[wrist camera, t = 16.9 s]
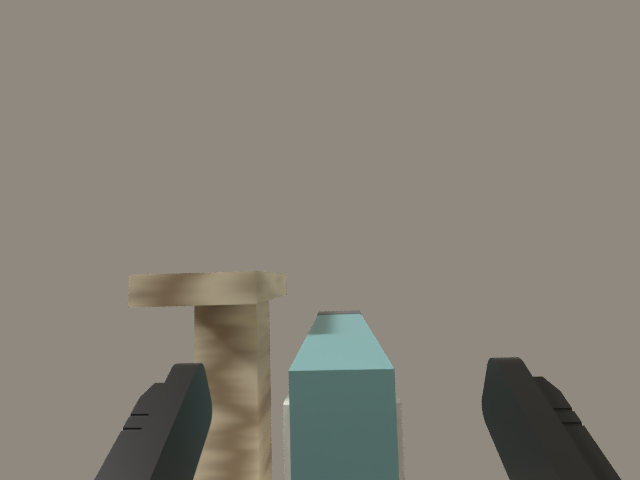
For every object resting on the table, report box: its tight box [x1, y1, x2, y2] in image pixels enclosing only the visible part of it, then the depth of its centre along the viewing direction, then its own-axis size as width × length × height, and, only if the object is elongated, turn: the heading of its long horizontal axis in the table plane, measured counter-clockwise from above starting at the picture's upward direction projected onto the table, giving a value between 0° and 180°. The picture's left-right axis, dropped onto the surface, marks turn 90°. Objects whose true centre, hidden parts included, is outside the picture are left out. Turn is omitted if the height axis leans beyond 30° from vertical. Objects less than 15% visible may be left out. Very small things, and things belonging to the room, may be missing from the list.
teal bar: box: [289, 311, 399, 480], centre depth 28 cm, size 4×26×4 cm, turn 178°
